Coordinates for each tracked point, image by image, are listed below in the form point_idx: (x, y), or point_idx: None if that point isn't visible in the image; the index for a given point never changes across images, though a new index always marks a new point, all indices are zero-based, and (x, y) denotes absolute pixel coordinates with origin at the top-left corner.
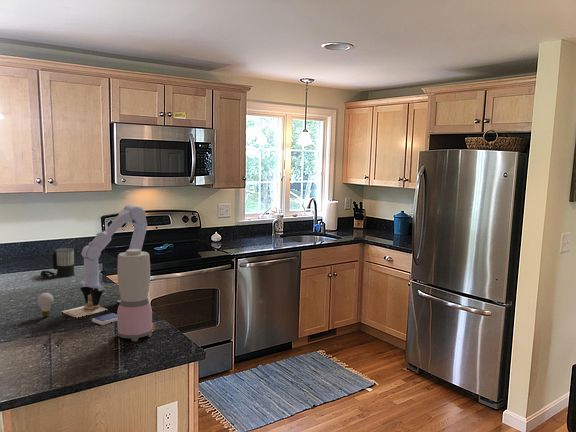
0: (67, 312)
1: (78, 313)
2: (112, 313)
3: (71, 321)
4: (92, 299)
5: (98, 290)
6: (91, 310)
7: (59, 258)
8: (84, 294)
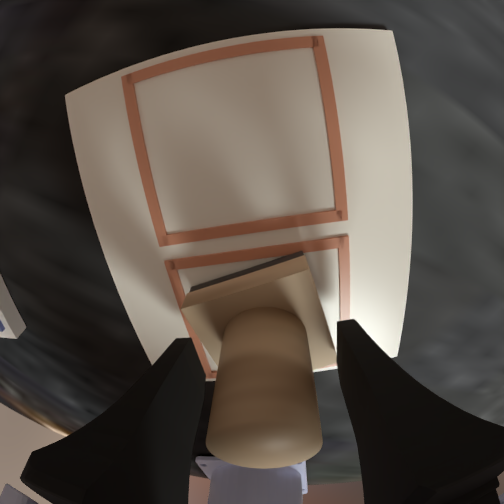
0: (307, 52)
1: (175, 138)
2: (11, 336)
3: (28, 47)
4: (151, 389)
5: (15, 492)
6: (193, 286)
7: None
8: (386, 401)
